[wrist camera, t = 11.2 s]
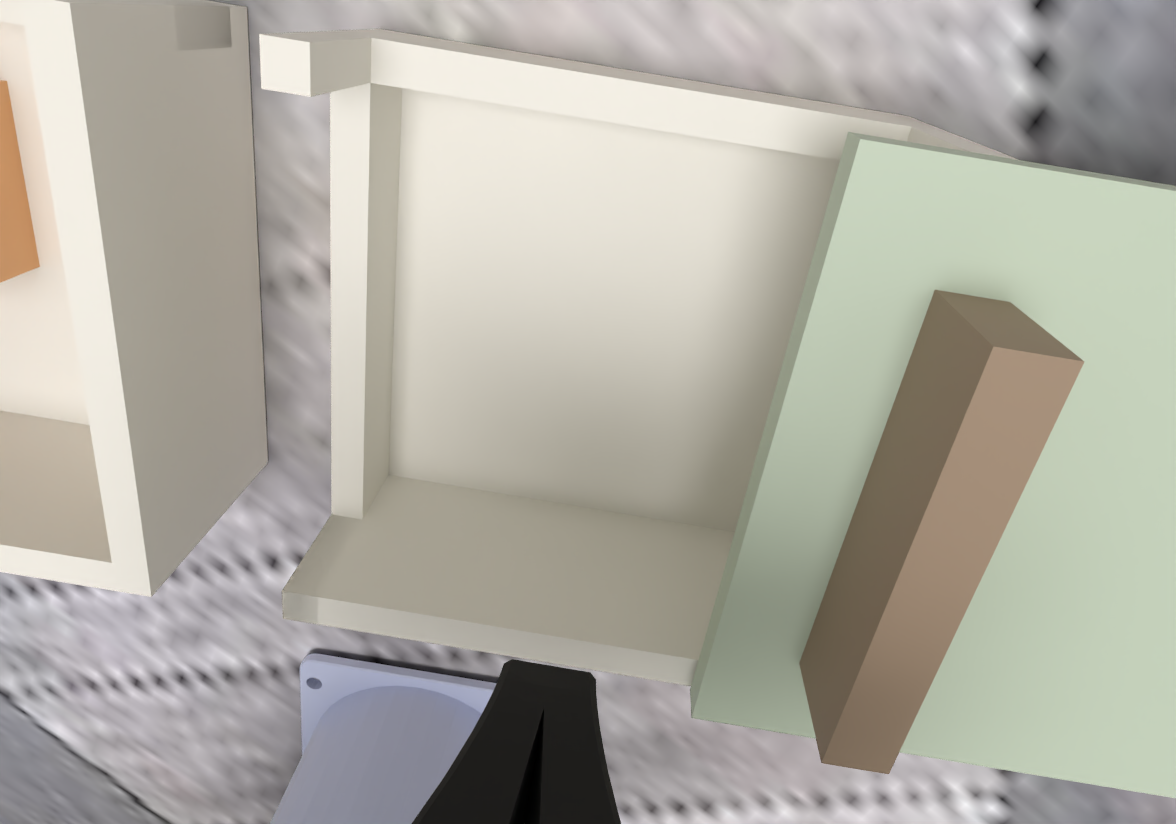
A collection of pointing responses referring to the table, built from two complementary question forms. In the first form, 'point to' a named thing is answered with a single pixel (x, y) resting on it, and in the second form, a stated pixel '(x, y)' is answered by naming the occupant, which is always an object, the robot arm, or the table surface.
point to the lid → (967, 480)
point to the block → (13, 200)
